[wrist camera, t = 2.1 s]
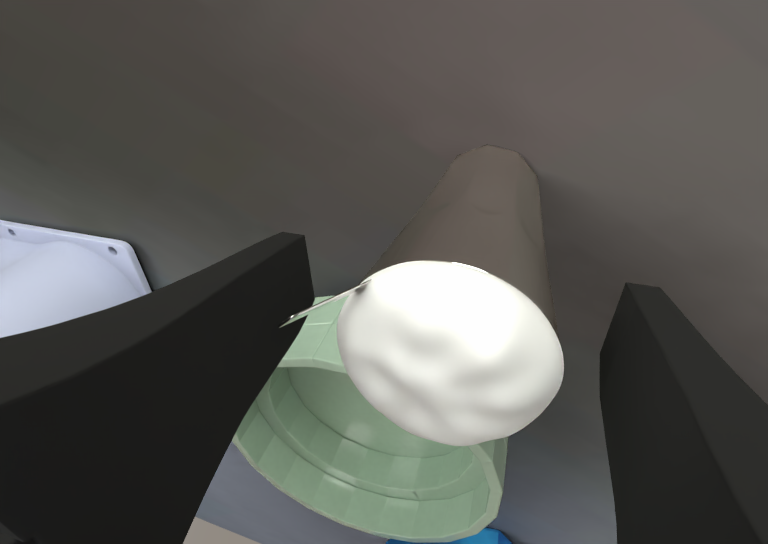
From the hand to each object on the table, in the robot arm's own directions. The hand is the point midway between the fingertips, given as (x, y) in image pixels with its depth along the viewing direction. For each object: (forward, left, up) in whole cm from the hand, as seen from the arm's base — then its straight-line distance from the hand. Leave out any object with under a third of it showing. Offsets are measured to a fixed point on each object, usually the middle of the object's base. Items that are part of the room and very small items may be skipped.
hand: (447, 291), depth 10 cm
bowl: (-4, -12, -6) cm, 14 cm away
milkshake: (0, 0, -7) cm, 7 cm away
